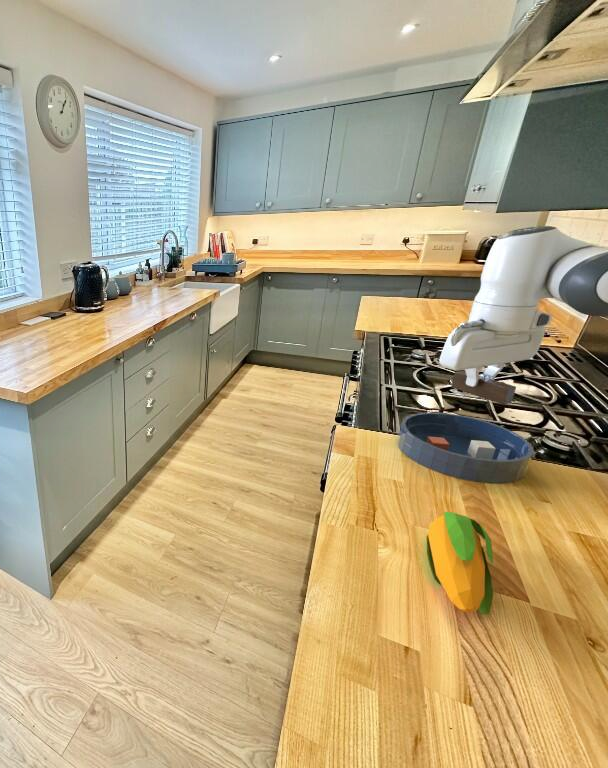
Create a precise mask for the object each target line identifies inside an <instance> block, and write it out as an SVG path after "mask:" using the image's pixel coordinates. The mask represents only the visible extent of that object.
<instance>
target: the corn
mask: <svg viewBox="0 0 608 768" xmlns="http://www.w3.org/2000/svg"><path fill="white" fill-rule="evenodd" d="M481 538H482V539H483V540H484V541H485V550H486V554H485V550H484V547H483V546H482V541H481ZM426 554H427V560H428V564H429V568H430V570H431V574H432V576H433V579H434V581H435V582H436V583H437V584H438V585H440V586H441V587H442V588H443V589H444V591H445V593H446V595H447V597H448V599H449V600H450V602H451V603H452V604H453V605H454V606H455V607H456V608H457V609H459V610H460V611H461V612H463V613H467V614H472V613H473V612H476V611H479V612H480V614H482V615H485V616H487V615H489V613H490V611H491V608H492V604H493V597H494V591H493V582H492V575H491V572H490V568H489V565H488V561H487V558H488V560H489V561H490V564H491V565H493V564H494V557H493V556H494V553H493V545H492V539H491V537H490V536H489V533H488V532H487V531H486V530H485V528H484V527H483V526H482V525H481V524H480V523H479V522H478V521H476V520H475V519H472V518H470V517H468V516H467V515H463V514H460V513H457V512H453V511H452V512H451V511H444V512H443V515H440V516H439V517H437V518H435V519H434V520H433V521H432V522H431V523H429V526H428V532H427V536H426ZM486 556H487V557H486Z"/></svg>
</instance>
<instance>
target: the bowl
mask: <svg viewBox="0 0 608 768" xmlns="http://www.w3.org/2000/svg"><path fill="white" fill-rule="evenodd" d="M428 436H429V437H440V438H444V439H445V440H446V441H447V442H448V443H449V444H450V445H449V448H448V451H446V450H443V449H440V448H437V447H435V446H433V445H430V444H428V443H426V441H427V437H428ZM471 440H476V441H488V442H489V443H490V444H491V445H493V446H494V447H495V448H496V449H495V452H494V455H493V458H492V460H490V459H481V458H475V457H472V456H471V455H470V454H469V453H468V449H469V446H470V443H471ZM396 442H397V447H398V448H399V450H400V451H401V452H402V453H403V454H404V455H405V456H406V457H408V458H409V459H411V460H413V461H414V462H415V463H417V464H419V465H421V466H423V467H425V468H428V469H429V470H432V471H435V472H437V473H440V474H442V475H446V476H449V477H452V478H453V477H454V478H455V479H456V478H457V479H460V480H464V481H465V480H466V481H470V482H477V483H486V484H508V483H513V482H517V481H519V480H522V479H523V478H524V477H525V475H526V474H527V471H528V469H529V466H530V463H531V461H532V458H533V457H534V451H535V450H534V446H533V445H532V444H531V443H530V442H529V441H528V440H527V439H526V438H524V437H523V436H521V435H520V434H517V432H514V431H513V430H510V429H509V428H505V427H503V426H500V425H498V424H496V423H493V422H489V421H486V420H482V419H479V418H476V417H472V416H471V417H470V416H466V415H462V414H461V415H460V414H454V413H448V412H419V413H414V414H410V415H407V416H406V417H405V418H403V419H402V421H401V424H400V429H399V432H398V436H397V440H396Z"/></svg>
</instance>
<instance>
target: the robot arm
mask: <svg viewBox="0 0 608 768" xmlns="http://www.w3.org/2000/svg"><path fill="white" fill-rule="evenodd" d="M543 299H554V300H556V301H559V302H560V303H563V304H565V305H567V306H569V307H570V308H572V309H573V310H574V311H576V312H578V313H579V314H583V315H586V316H592V317H599V318H601V317H603V318H604V317H608V247H607V246H606V247H605V246H599V245H597V244H592V243H588V242H586V241H582V240H579V239H577V238H574V237H572V236H570V235H568V234H566V233H564V232H562V231H560V229H558V227H556V226H552V225H539V226H531V227H524V228H518V229H514V230H510V231H507V232H505V233H503V234H501V235H499V236H498V237H497V238H496V239H495V241H494V242H493V244H492V246H491V247H490V250H489V252H488V255H487V257H486V260H485V262H484V265H483V268H482V271H481V275H480V287H479V290H478V291H477V294H476V295H475V296H474V299H473V303H472V306H471V310H470V312H469V316H468V320H467V321H463V322H460V324H459V325H458V326H456V327H455V328H454V329H453V330H452V331H451V332H450V334H448V337H447V339H446V340H445V343H444V345H443V348H442V350H441V353H440V356H439V359H438V361H439V364H440V366H441V367H443V368H446V369H449V370H452V371H455V372H458V371H465V372H466V374H467V379H466V384H467V385H469V386H472V387H474V386H479V385H480V384H481V380H482V378H480V377H479V376H482V377H485V378H489V379H492V380H495V379H496V377H497V376H498V375H499V373H500V372H501V371H502V370H503V369H504V367H505V365H506V364H508V363H514V362H520V361H521V362H522V361H527V360H531V359H532V358H533V357H534V356H536V355H537V354H538V351H539V349H540V347H541V345H542V342H543V339H544V337H545V335H546V327H547V326H549V325H550V324H551V322H552V320H553V314H552V313H547V312H545V311H542V310H539V309H538V305H539V303H540V302H541V300H543ZM484 367H486V369H485V370H484V372H483V373H480V372H481V371H482V370H483V368H484Z"/></svg>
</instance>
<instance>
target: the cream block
mask: <svg viewBox="0 0 608 768" xmlns="http://www.w3.org/2000/svg"><path fill="white" fill-rule="evenodd" d="M495 449H496V448H495V447H494V446H493V445H491V444H490V443H489V442H488V441H476V440H471V443H470V446H469V449H468V453H469V454H470V455H471V456H472V457H475V458H481V459H490V460H492V458H493V455H494V452H495Z"/></svg>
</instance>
